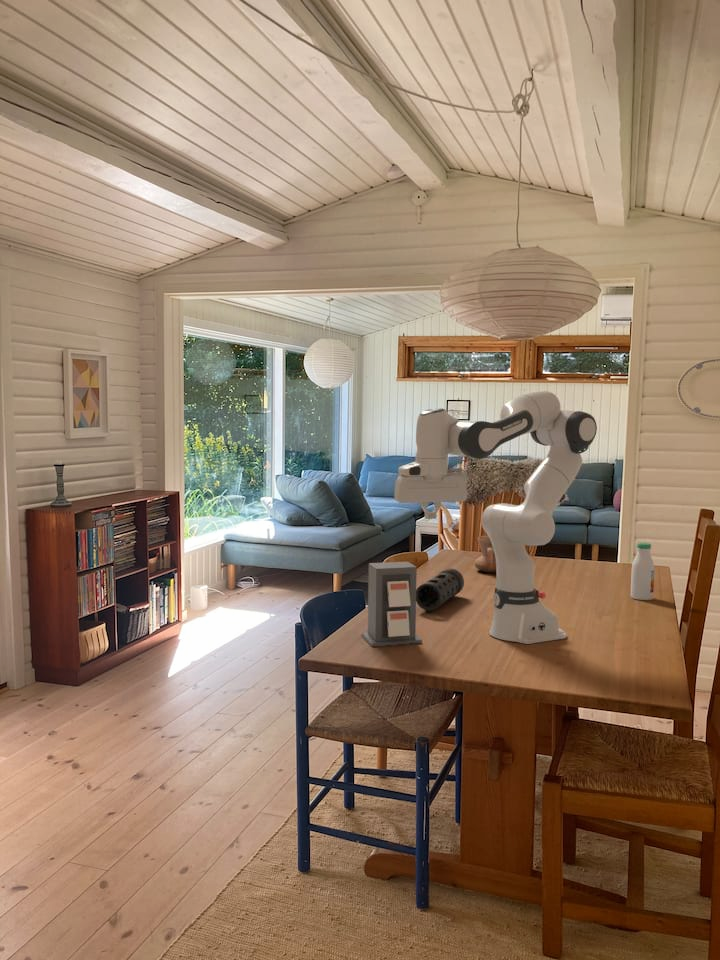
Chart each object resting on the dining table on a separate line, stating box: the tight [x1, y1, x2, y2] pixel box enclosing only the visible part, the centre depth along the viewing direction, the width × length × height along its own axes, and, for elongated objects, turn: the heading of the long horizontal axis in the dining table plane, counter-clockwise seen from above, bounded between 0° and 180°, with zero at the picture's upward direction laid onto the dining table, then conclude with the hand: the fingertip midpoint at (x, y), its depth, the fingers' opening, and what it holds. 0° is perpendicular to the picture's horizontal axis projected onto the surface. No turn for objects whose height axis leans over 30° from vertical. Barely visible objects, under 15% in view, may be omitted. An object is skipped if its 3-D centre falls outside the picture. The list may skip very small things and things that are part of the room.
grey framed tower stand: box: [361, 561, 423, 647], centre depth 225 cm, size 15×11×22 cm
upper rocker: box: [387, 581, 411, 607], centre depth 219 cm, size 6×1×7 cm, turn 105°
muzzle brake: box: [416, 568, 465, 613], centre depth 268 cm, size 10×28×10 cm, turn 156°
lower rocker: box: [387, 610, 410, 637], centre depth 220 cm, size 6×1×7 cm, turn 105°
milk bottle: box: [630, 542, 655, 601], centre depth 279 cm, size 8×8×20 cm
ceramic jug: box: [474, 535, 496, 574], centre depth 322 cm, size 18×14×14 cm
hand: (430, 518), depth 213 cm, fingers closed
